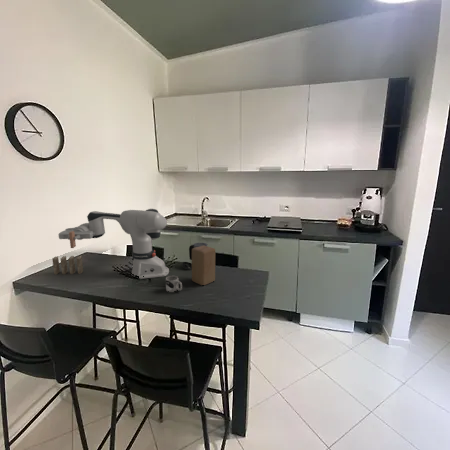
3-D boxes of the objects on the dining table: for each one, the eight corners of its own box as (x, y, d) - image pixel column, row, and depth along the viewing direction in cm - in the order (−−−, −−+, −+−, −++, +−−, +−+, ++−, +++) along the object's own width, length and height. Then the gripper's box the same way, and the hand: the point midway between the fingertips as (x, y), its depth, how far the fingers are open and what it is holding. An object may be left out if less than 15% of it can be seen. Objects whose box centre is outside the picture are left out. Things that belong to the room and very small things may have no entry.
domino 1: (60, 272, 171) (58, 256, 169) (57, 274, 167) (55, 258, 165) (57, 272, 171) (55, 256, 169) (54, 274, 167) (52, 258, 165)
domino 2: (67, 271, 172) (66, 256, 170) (65, 274, 168) (63, 258, 166) (65, 271, 172) (63, 256, 169) (62, 274, 168) (60, 258, 166)
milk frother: (209, 264, 189) (209, 243, 186) (200, 272, 174) (200, 249, 171) (190, 261, 193) (190, 241, 190) (179, 269, 179) (179, 247, 176)
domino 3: (75, 246, 180) (74, 231, 178) (73, 248, 176) (71, 232, 174) (73, 246, 180) (71, 231, 178) (70, 248, 176) (69, 232, 174)
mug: (163, 290, 150) (163, 278, 148) (171, 285, 155) (171, 274, 154) (177, 295, 144) (177, 283, 143) (185, 290, 150) (185, 278, 149)
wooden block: (215, 281, 162) (216, 248, 158) (202, 286, 155) (202, 252, 150) (203, 276, 168) (204, 244, 164) (191, 281, 161) (190, 248, 157)
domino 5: (83, 271, 173) (81, 255, 171) (80, 273, 169) (79, 258, 167) (80, 271, 173) (78, 255, 171) (78, 273, 169) (76, 258, 167)
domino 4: (75, 271, 172) (73, 256, 170) (73, 274, 169) (71, 258, 166) (72, 271, 172) (71, 256, 170) (70, 274, 168) (68, 258, 166)
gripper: (96, 237, 191) (89, 242, 178) (64, 237, 189) (55, 243, 175) (95, 228, 190) (88, 233, 177) (63, 228, 187) (54, 233, 174)
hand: (71, 238), depth 176 cm, fingers closed on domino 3, 2 cm apart
